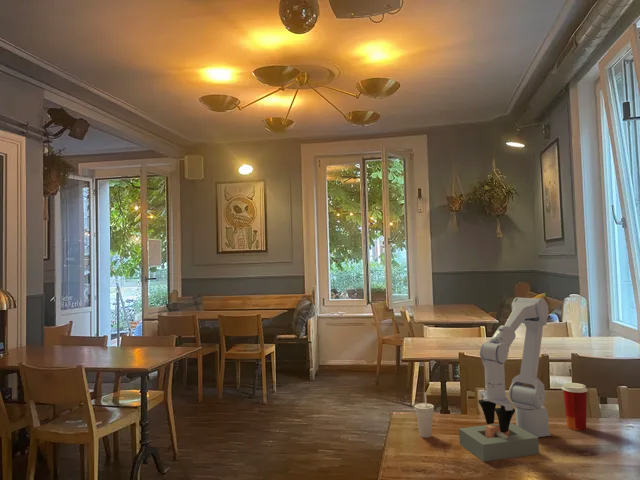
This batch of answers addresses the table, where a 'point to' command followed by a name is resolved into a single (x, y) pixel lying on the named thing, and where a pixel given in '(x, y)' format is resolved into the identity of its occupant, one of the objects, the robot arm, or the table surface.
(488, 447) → the grey panel with window
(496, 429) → the orange arch block
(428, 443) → the table surface
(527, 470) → the table surface
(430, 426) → the smoothie
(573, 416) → the paper cup
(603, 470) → the table surface
